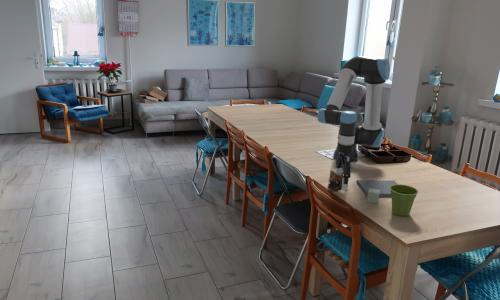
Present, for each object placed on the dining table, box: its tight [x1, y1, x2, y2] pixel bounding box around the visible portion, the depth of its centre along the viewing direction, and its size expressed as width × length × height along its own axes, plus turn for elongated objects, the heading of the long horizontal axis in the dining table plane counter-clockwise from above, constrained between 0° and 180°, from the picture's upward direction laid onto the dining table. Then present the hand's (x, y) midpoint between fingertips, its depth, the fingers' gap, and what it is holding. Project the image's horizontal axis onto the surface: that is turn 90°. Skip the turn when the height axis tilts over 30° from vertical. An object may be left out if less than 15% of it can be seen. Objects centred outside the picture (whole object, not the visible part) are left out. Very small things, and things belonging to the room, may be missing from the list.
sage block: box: [366, 188, 380, 204], centre depth 189 cm, size 5×5×5 cm
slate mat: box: [356, 179, 398, 198], centre depth 204 cm, size 18×20×2 cm
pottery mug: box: [327, 174, 350, 192], centre depth 201 cm, size 12×10×8 cm
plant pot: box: [390, 183, 420, 217], centre depth 176 cm, size 12×12×11 cm
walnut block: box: [329, 168, 344, 180], centre depth 215 cm, size 5×5×5 cm
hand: (341, 184), depth 201 cm, fingers closed on pottery mug, 12 cm apart
